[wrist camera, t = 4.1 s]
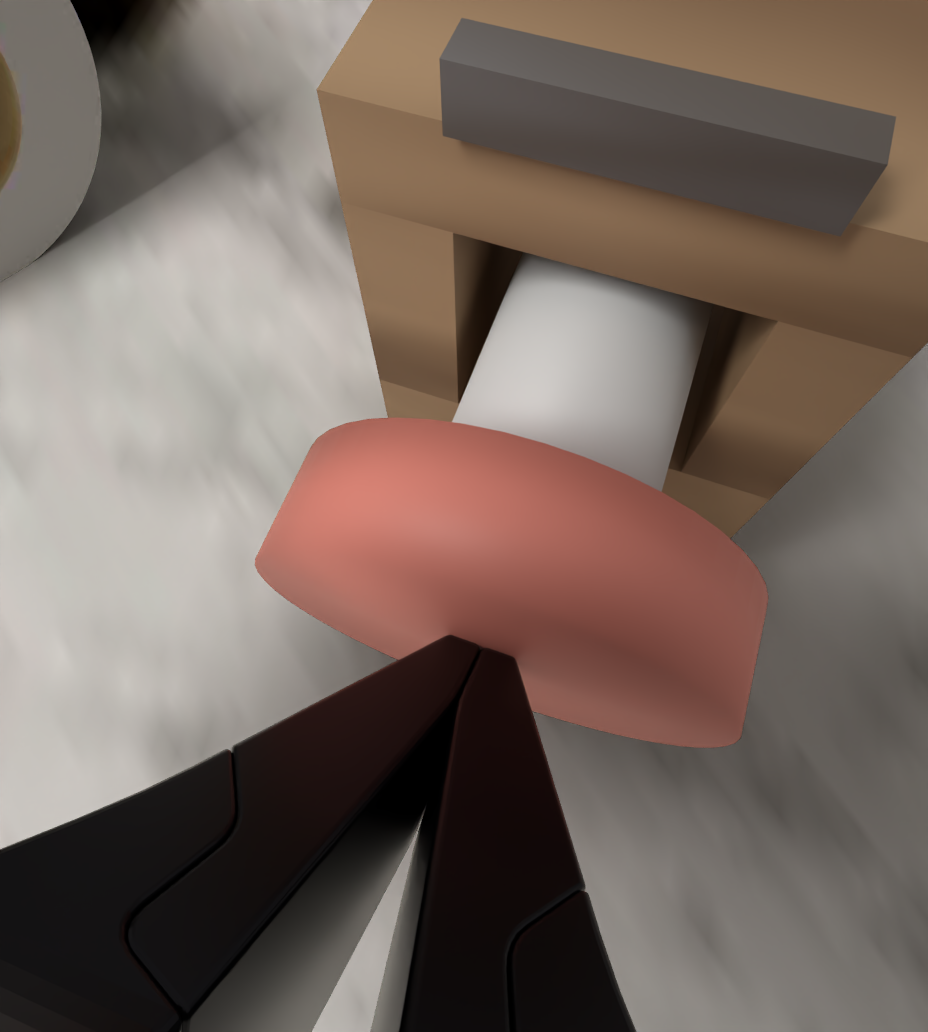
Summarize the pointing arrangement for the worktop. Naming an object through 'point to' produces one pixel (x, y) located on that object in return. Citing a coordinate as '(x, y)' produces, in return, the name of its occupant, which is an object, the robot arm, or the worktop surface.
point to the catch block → (648, 199)
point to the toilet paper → (43, 126)
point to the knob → (542, 519)
